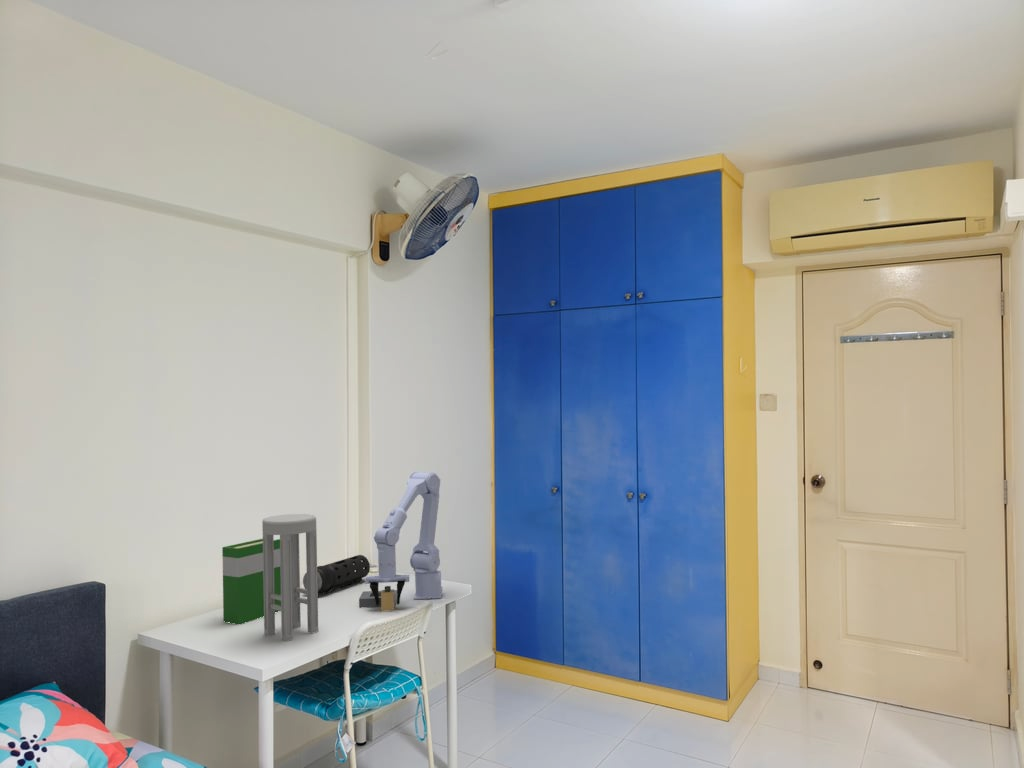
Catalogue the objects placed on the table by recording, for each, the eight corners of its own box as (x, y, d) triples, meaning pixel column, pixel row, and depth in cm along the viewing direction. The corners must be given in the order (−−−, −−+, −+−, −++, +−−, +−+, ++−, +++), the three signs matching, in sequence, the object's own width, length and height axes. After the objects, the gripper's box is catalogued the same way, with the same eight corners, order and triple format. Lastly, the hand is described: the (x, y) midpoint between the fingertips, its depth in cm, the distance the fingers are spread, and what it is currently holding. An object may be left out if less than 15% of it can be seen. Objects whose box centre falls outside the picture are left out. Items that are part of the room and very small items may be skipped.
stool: (298, 622, 233) (296, 512, 234) (328, 631, 224) (325, 515, 225) (254, 635, 221) (252, 518, 222) (283, 644, 212) (281, 523, 213)
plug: (394, 607, 249) (394, 584, 249) (393, 610, 245) (393, 587, 245) (382, 607, 248) (382, 585, 248) (381, 611, 244) (380, 588, 244)
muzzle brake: (370, 581, 287) (370, 554, 287) (321, 599, 262) (321, 570, 262) (351, 579, 291) (351, 553, 292) (301, 596, 266) (300, 568, 267)
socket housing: (397, 598, 260) (397, 589, 260) (394, 606, 250) (394, 597, 250) (363, 600, 259) (362, 591, 259) (359, 607, 249) (359, 598, 249)
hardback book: (266, 608, 252) (265, 537, 252) (282, 610, 248) (280, 539, 249) (223, 621, 236) (222, 547, 237) (239, 624, 233) (237, 548, 233)
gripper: (363, 566, 242) (364, 608, 242) (408, 565, 243) (408, 606, 243) (366, 562, 249) (367, 602, 249) (409, 560, 250) (410, 600, 250)
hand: (388, 604), depth 246 cm, fingers open, 6 cm apart
